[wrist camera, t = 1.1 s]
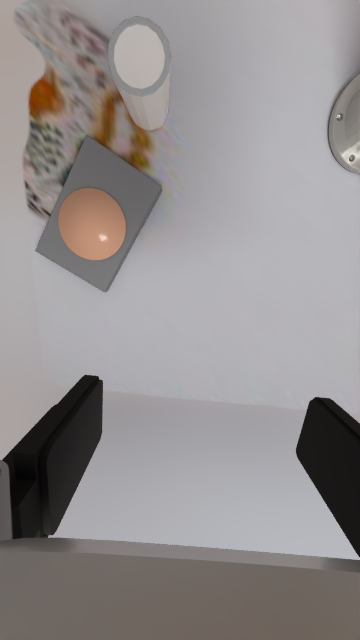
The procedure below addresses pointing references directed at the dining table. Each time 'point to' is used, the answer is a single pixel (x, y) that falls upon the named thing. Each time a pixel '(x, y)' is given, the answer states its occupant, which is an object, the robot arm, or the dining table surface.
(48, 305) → the dining table surface
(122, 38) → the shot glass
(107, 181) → the board
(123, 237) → the coaster
